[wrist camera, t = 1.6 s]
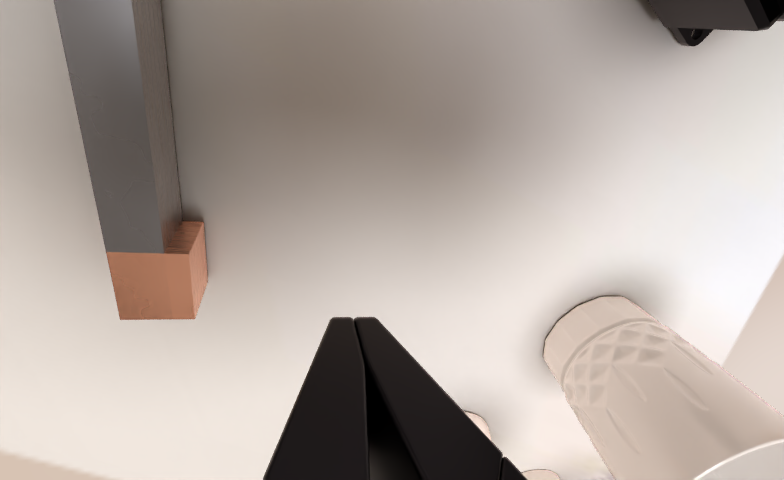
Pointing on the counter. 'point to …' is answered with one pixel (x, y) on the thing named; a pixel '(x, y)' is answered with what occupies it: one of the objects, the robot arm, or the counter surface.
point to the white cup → (659, 399)
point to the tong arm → (133, 155)
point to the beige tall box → (541, 475)
